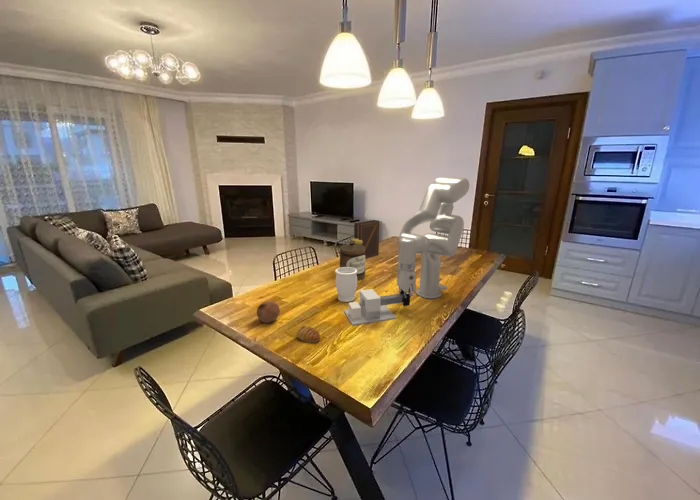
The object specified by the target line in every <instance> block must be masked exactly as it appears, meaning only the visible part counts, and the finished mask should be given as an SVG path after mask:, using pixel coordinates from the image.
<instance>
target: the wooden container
mask: <svg viewBox="0 0 700 500" xmlns="http://www.w3.org/2000/svg"><path fill="white" fill-rule="evenodd" d="M342 267H352V268H355V269H357V274H356V275H357V282H358V281H361V280H364V279H365V277H366V259H365V246H363V245H359V244H355V241H352V240H350V241H349V243H347V244H346V243H345V244H342V245H341V246H340V247H339V268H342Z"/></svg>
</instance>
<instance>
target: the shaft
mask: <svg viewBox="0 0 700 500" xmlns="http://www.w3.org/2000/svg"><path fill="white" fill-rule="evenodd" d="M407 294H408V293H406V295H407ZM379 297H380V298H381V306H382V305H386V306H387V305H394V304H395V305H396V304H403V297H404V293H402V294H400V293H395V294H387V295H381V296H379Z"/></svg>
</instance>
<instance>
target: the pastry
mask: <svg viewBox="0 0 700 500" xmlns="http://www.w3.org/2000/svg"><path fill="white" fill-rule="evenodd" d="M321 336H322V335H320V333H319V332H318V330H316V329H315V328H313V327H311V326H306V325H302V326H300V327H299V329H298V330H297V332H296V337H297V338H298V339H299V340H301V341H303V342H306V343H310V344H313V343H314V344H315V343H317V342H319V341H320V340H321Z"/></svg>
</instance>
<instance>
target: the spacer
mask: <svg viewBox="0 0 700 500" xmlns="http://www.w3.org/2000/svg"><path fill="white" fill-rule="evenodd" d="M348 309H349V315H350V316H351V318H352V319H359V318H361V307H360V303H359V302H358V301H353V302H352V301H350V302H348Z"/></svg>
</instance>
